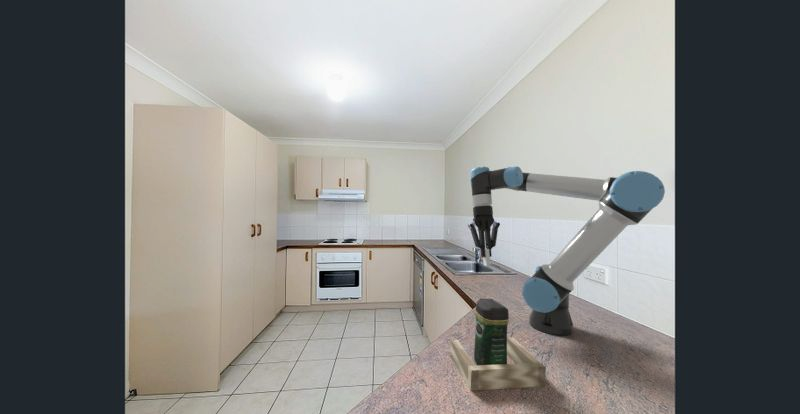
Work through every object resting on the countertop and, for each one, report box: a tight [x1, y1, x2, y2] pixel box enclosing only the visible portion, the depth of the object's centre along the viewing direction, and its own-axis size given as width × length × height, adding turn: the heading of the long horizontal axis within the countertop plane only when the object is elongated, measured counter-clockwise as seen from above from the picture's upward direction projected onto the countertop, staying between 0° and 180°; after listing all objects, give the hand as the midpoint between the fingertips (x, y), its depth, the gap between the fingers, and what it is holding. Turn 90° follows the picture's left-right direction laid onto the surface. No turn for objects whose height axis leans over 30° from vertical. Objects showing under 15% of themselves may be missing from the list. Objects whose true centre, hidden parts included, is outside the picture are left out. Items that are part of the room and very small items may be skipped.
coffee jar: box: [473, 298, 510, 366], centre depth 82 cm, size 10×8×19 cm
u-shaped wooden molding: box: [449, 337, 547, 392], centre depth 80 cm, size 20×16×5 cm
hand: (486, 265), depth 112 cm, fingers closed
